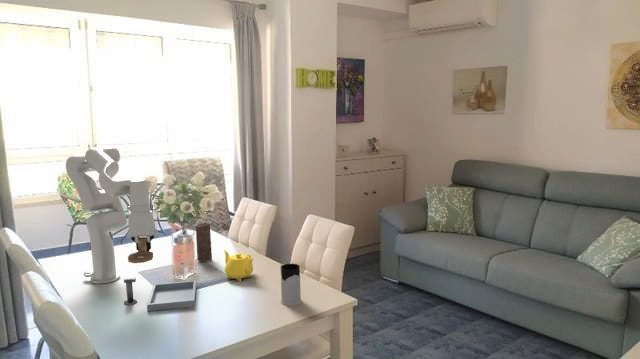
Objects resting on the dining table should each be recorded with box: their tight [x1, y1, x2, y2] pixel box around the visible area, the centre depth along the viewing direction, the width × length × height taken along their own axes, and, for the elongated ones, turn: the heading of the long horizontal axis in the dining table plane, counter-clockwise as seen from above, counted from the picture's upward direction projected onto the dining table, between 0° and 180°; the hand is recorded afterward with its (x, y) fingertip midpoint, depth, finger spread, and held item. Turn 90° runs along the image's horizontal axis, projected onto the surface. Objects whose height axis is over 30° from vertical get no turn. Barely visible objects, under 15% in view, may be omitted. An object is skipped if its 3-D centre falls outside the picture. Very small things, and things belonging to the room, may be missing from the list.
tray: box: [146, 279, 197, 313], centre depth 201 cm, size 18×22×3 cm
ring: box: [127, 236, 154, 264], centre depth 196 cm, size 9×15×7 cm, turn 11°
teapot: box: [223, 249, 255, 282], centre depth 224 cm, size 20×15×12 cm
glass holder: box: [280, 263, 303, 307], centre depth 198 cm, size 9×14×15 cm, turn 28°
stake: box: [123, 277, 138, 306], centre depth 196 cm, size 5×5×10 cm
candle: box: [195, 222, 213, 262], centre depth 246 cm, size 8×7×20 cm
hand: (144, 250), depth 202 cm, fingers closed on ring, 2 cm apart
